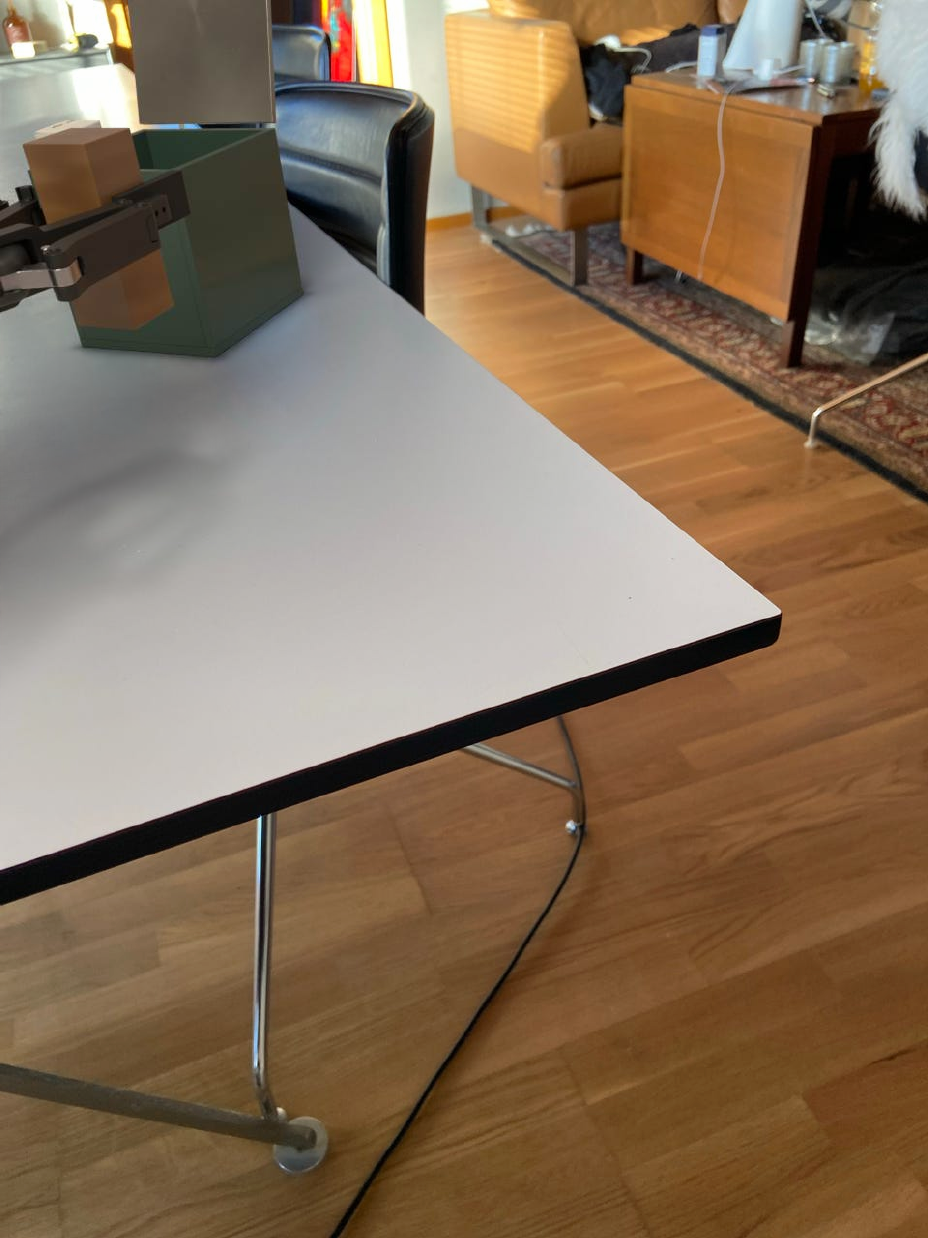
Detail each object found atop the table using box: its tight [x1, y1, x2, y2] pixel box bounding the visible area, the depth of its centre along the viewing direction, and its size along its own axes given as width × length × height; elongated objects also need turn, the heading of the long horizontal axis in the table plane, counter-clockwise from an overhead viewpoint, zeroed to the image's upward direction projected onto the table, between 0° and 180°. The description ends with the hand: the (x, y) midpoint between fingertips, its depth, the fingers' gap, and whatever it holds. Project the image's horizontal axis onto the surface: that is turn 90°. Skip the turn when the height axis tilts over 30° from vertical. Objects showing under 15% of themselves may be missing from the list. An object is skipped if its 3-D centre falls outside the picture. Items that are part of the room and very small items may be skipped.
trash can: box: [27, 127, 304, 358], centre depth 91 cm, size 17×15×15 cm
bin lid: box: [127, 0, 277, 126], centre depth 89 cm, size 18×15×1 cm
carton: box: [22, 127, 174, 330], centre depth 62 cm, size 4×4×11 cm
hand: (147, 191), depth 65 cm, fingers closed on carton, 4 cm apart
